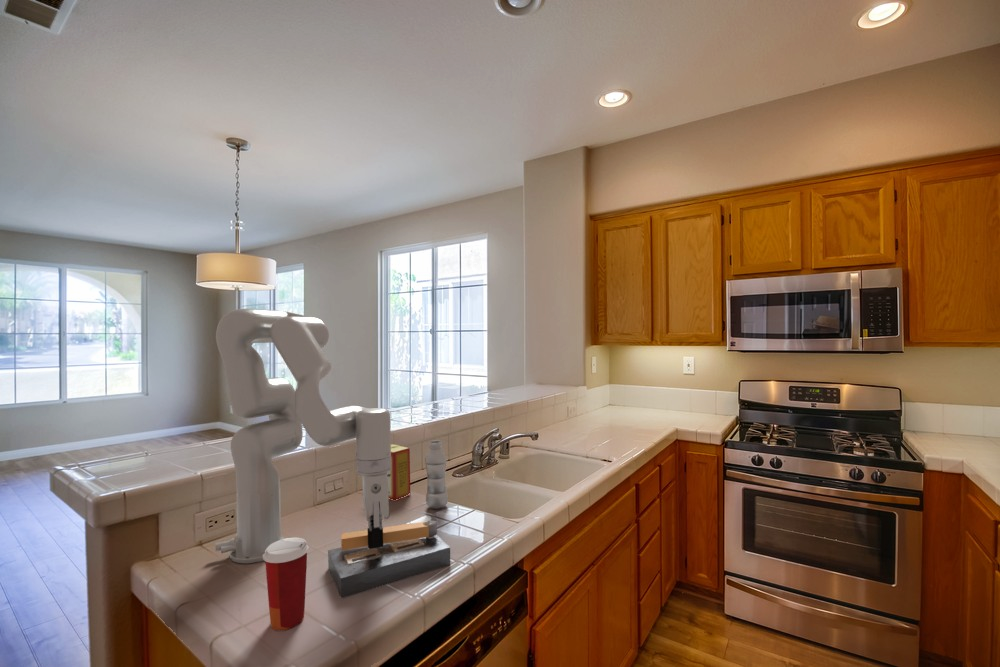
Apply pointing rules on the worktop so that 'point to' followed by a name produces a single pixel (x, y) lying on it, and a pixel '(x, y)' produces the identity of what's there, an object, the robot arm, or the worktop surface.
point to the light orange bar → (391, 534)
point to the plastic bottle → (436, 476)
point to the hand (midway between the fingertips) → (375, 546)
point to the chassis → (385, 563)
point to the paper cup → (286, 581)
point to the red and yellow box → (399, 472)
